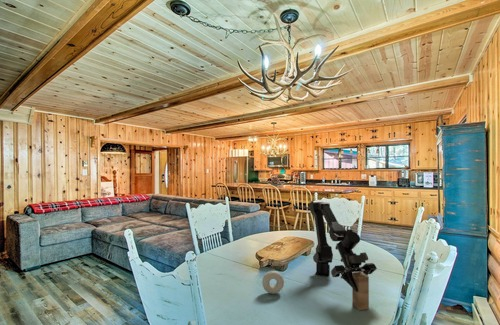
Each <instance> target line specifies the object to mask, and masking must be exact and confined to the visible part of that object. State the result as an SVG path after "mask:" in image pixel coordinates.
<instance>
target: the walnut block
mask: <svg viewBox="0 0 500 325" xmlns="http://www.w3.org/2000/svg"><path fill="white" fill-rule="evenodd" d="M352 277H353V279H354V281H355V284H356V286H357V289H358V292H356V291H355V290H354V289H353V288H352V287H351V289H352V290H351V291H352V300H351V301H352V302H351V303H352V305H353V306H354V307H355V308H356V309H357V310H358V311H362V310H369V309H370V302H369V301H370V298H369V297H370V293H369V292H370V290H369V289H370V288H369V287H370V285H369V284H370V282H369V281H370V278H369V275H368V276H367V275H366V274H364V273H363V272H352Z"/></svg>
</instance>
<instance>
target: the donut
mask: <svg viewBox="0 0 500 325" xmlns="http://www.w3.org/2000/svg"><path fill="white" fill-rule="evenodd" d="M272 280H275V281H276V283H275V284H274V285H271V283H270V281H272ZM261 283H262V287H263V290H264V291H265V292H267V293H269V294H271V295H274V294H278V293H280V292H281V291H282V290H283V288H284V285H285V280H284V277H283V275H282V274H281V273H280V272H279V271H276V270H269V271H268V272H266V273H265V274H264V275H263V277H262V282H261Z"/></svg>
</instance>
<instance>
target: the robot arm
mask: <svg viewBox="0 0 500 325" xmlns="http://www.w3.org/2000/svg"><path fill="white" fill-rule="evenodd" d="M308 208H309V210H310V213H311V215H312V216H313V217H314V224H315V225H314V226H315V232H316V239H317V240H316V241H317V245H316V247H315V253H314V254H313V256H312V259H313V262H315V265H316V270H315V275H317V276H324V277H329V276H330V274H331V277H332V278H339V277H340V279H342V280H343V281H345V282H346V283H347V285H349V286H350V287H351V289H352V288H353V289H354V290H355V291H356V292H358V289H357V286H356V284H355V281H354V279H353V277H352V273H354V272H363V273H364V274H366V275H367V276H369V275H372V274H373V273H374V272H375V271H377V270H378V268H377V265H376V264H375V263H373V262H370V263H369V262H367V263H366V261H369V256H368V254H367V252H360V253H359V254H356V252H354V251H353V250H354V249H355V247H356V246H357V245H358V244H359V243H360V242H361V237H360V235H359V234H358V233H357V232H355V231H353V229H347V230H346V228H345V227H344V226H343V225H342V224H341V223H339V221H338V220H337V218H336V216H335V214H334V212H333V210H332V209H331V205H330V203H329V202H325V201H323V200H311V201H310V202H309V203H308ZM324 219H325V221H326V224H327V226H328V228H329V230H328V234H329V237H330V239H331V241H332V242H337V243H336V244H335V248H334V249H335V250H338V253H339V256H340V262H341V263H343V264H341V265H339V264H338V265H337V264H336V265H335V266H334V267H333V268H332V269H330V268H331V267H330V264H331V263H332V262H333V258H334V254H333V248H332V246H331V245H330V244H328V240H327V232H326V227H325V221H324ZM362 263H363V266H362ZM330 270H331V271H330ZM340 275H341V276H340Z"/></svg>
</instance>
